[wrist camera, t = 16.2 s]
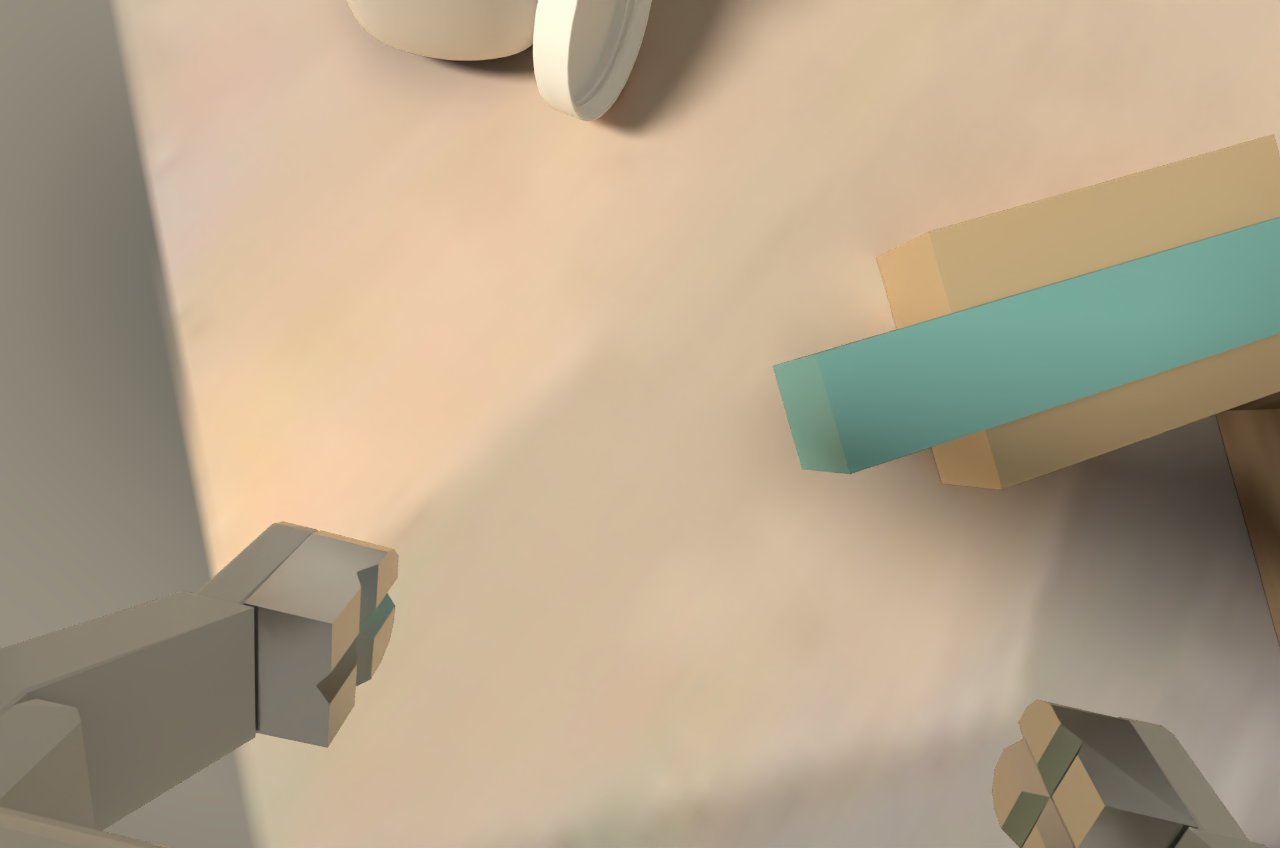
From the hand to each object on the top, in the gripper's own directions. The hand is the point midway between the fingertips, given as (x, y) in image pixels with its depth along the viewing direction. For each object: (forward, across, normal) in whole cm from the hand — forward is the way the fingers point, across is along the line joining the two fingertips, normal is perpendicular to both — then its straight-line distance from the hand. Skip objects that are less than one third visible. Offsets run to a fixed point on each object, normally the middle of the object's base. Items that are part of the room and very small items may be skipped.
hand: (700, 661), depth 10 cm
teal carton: (+22, -13, -1) cm, 25 cm away
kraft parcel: (+27, -16, -1) cm, 31 cm away
